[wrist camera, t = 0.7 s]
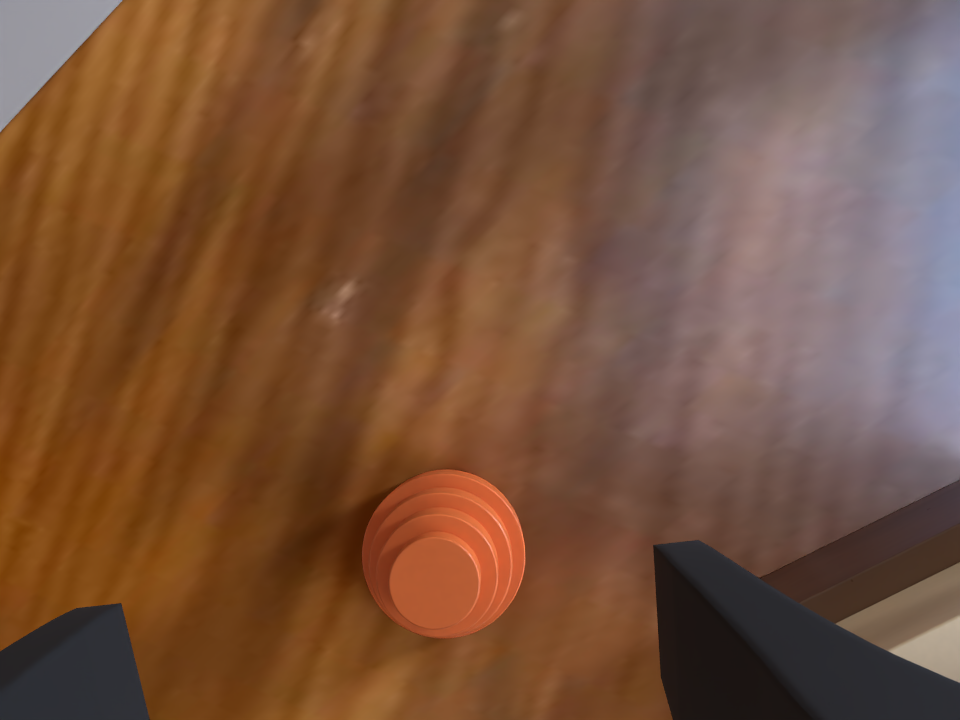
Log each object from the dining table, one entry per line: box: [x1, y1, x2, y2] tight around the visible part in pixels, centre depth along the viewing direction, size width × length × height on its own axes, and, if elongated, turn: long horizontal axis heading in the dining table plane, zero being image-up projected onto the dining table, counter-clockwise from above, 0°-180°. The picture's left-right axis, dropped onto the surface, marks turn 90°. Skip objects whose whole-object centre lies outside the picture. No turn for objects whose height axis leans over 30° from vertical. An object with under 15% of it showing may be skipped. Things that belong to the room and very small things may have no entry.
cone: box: [362, 469, 525, 639], centre depth 26 cm, size 5×5×6 cm
